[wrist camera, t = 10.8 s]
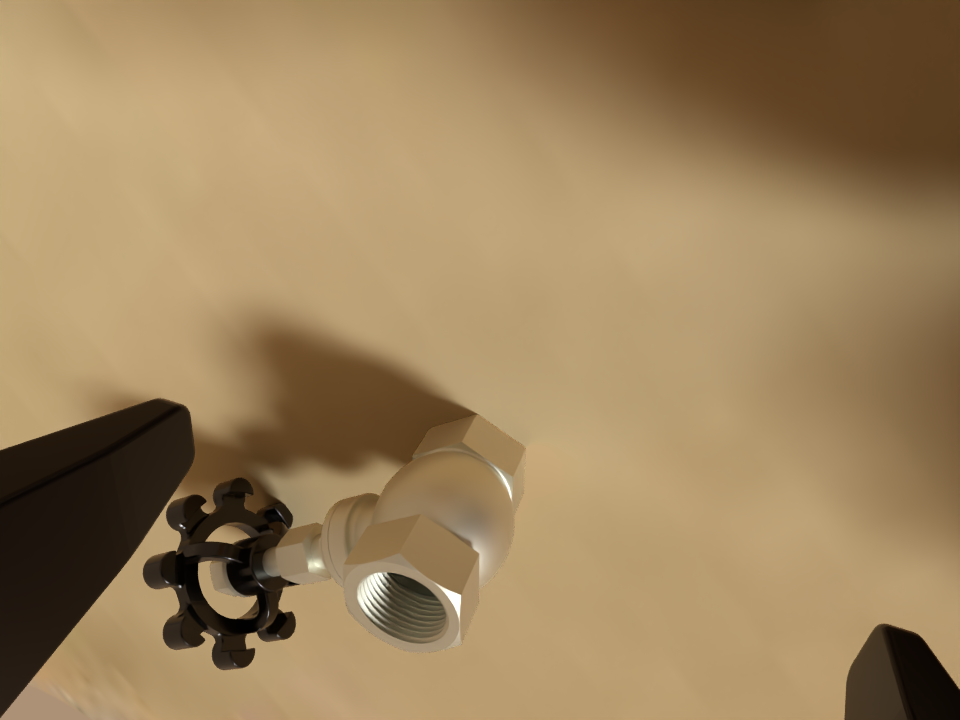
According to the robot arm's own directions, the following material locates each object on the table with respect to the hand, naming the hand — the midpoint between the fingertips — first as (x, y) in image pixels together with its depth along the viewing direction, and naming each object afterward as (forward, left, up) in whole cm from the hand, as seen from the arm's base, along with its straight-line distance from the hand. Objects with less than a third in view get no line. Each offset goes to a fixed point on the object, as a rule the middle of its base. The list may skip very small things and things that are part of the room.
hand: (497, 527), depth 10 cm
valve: (+6, +12, -12) cm, 18 cm away
